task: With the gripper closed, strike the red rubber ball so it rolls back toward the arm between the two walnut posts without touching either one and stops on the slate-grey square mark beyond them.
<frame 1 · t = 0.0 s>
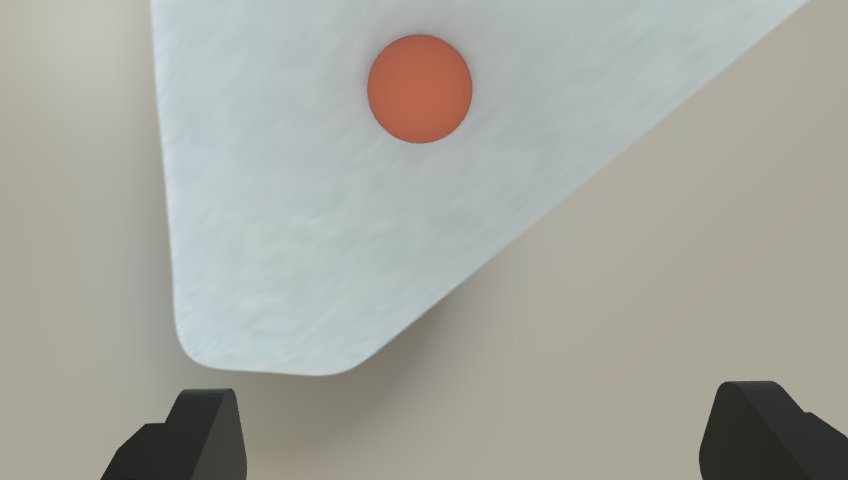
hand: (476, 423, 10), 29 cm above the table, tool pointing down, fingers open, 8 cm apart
ball: (419, 90, 33), on the table
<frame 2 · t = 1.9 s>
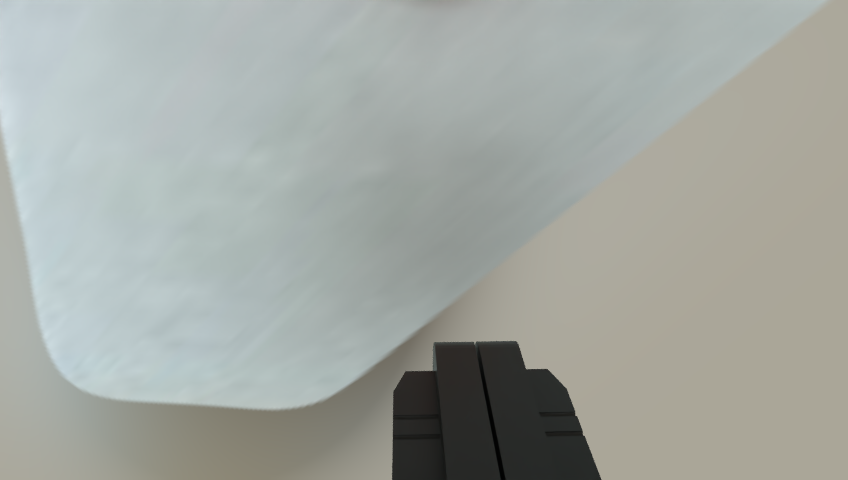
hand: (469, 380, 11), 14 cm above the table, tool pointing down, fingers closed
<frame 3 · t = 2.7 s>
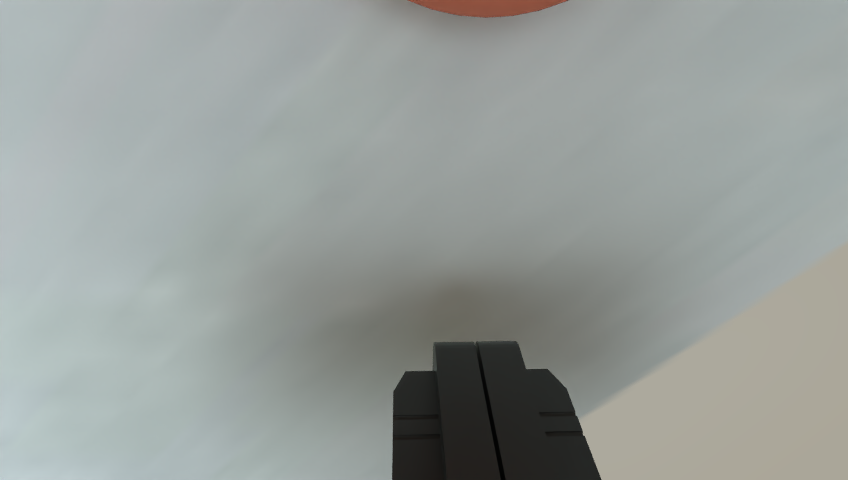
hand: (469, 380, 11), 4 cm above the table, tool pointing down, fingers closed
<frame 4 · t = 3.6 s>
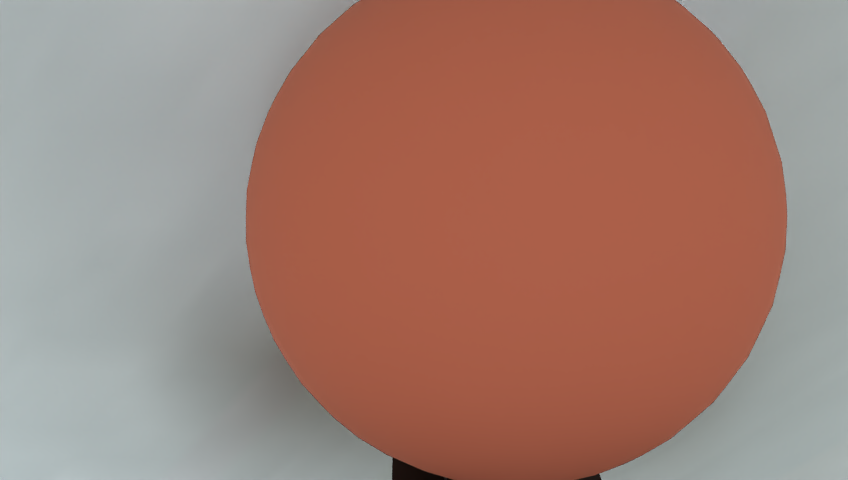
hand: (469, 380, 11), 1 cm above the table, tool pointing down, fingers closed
ball: (500, 222, 7), on the table
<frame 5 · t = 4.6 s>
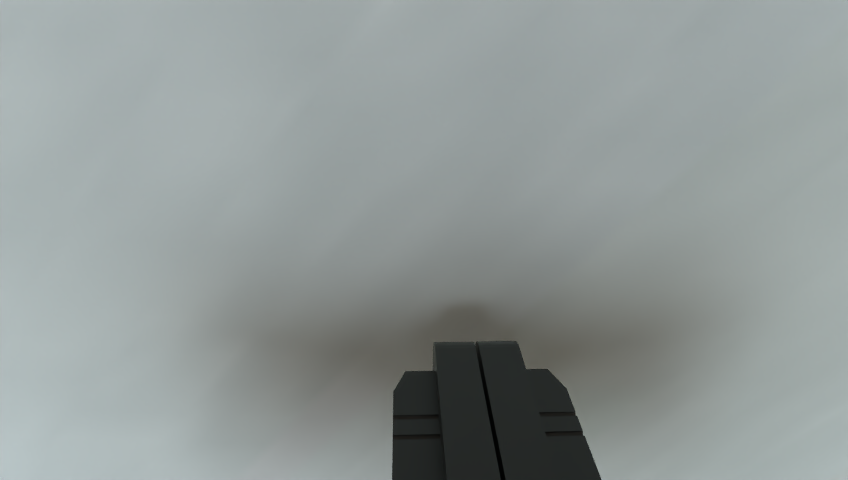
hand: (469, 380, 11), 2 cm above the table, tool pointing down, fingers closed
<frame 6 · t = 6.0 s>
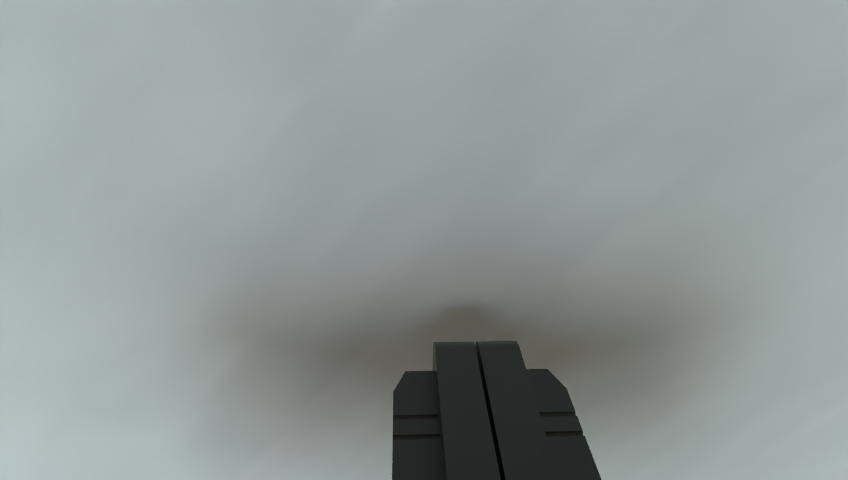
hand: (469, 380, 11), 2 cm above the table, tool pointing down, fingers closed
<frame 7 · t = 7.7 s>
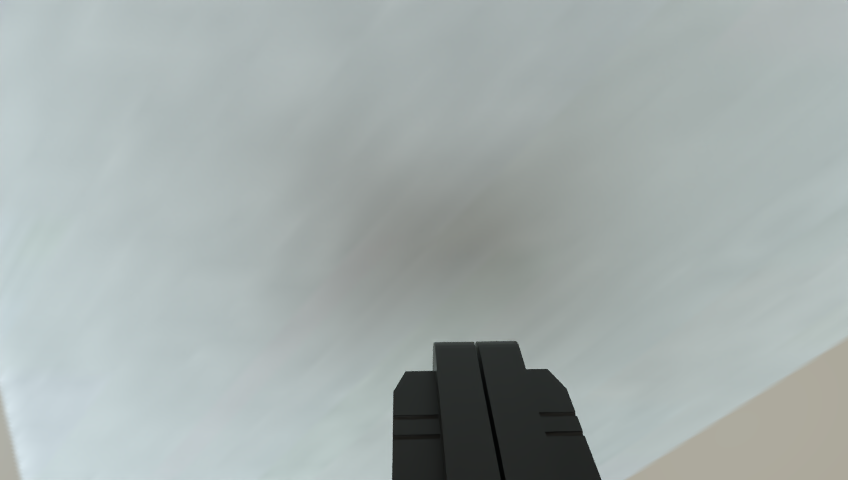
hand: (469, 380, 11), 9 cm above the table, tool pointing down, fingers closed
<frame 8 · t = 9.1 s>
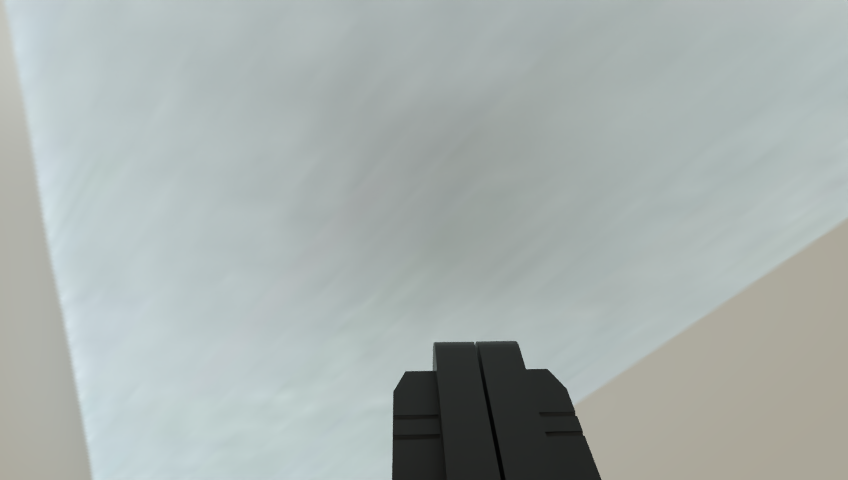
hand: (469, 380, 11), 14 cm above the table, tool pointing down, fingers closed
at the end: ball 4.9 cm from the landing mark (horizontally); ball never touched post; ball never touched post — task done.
